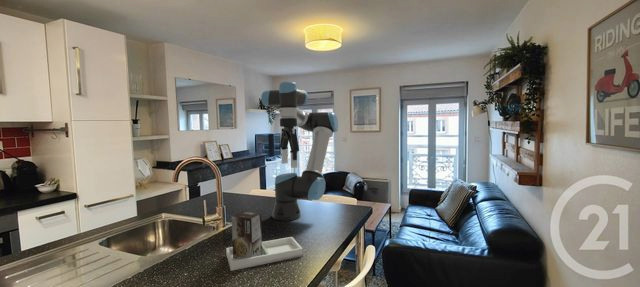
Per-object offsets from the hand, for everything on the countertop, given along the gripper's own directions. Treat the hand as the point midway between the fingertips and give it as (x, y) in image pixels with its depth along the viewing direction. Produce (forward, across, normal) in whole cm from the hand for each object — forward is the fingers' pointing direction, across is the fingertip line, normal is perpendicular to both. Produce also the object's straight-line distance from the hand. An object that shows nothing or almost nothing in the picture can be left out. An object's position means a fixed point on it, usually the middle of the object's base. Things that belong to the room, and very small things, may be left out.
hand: (289, 165), depth 131 cm
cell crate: (+31, +17, -16) cm, 39 cm away
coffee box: (+31, +17, -22) cm, 41 cm away
